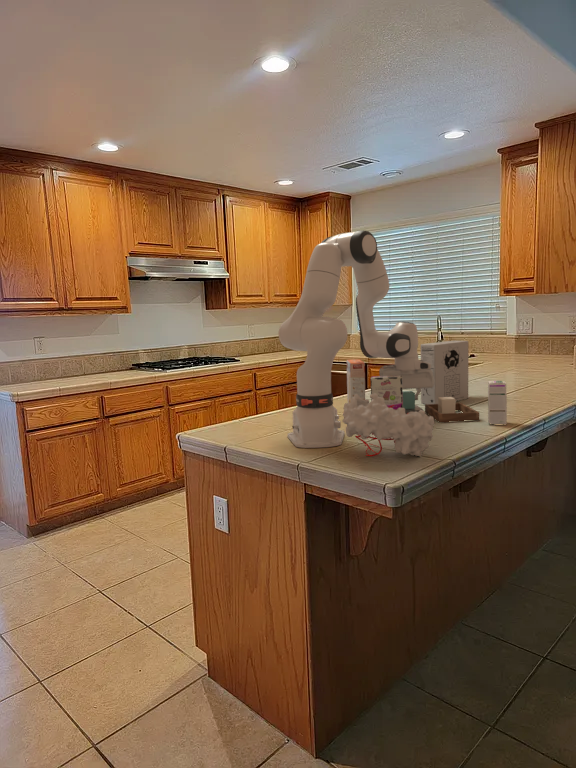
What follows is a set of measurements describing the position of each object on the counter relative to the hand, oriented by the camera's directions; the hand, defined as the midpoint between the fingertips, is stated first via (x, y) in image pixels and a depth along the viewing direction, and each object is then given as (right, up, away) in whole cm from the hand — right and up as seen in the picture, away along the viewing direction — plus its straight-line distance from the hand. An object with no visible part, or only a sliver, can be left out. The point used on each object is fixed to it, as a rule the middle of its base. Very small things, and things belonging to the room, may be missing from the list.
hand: (406, 400), depth 201 cm
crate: (+14, -6, -8) cm, 17 cm away
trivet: (0, -5, +1) cm, 5 cm away
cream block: (+14, -5, -3) cm, 16 cm away
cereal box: (+21, -1, +22) cm, 30 cm away
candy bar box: (-10, -7, -11) cm, 16 cm away
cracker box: (-19, -6, +5) cm, 20 cm away
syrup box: (+25, -8, -23) cm, 35 cm away
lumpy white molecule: (-18, -14, -54) cm, 58 cm away
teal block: (0, -3, 0) cm, 3 cm away
